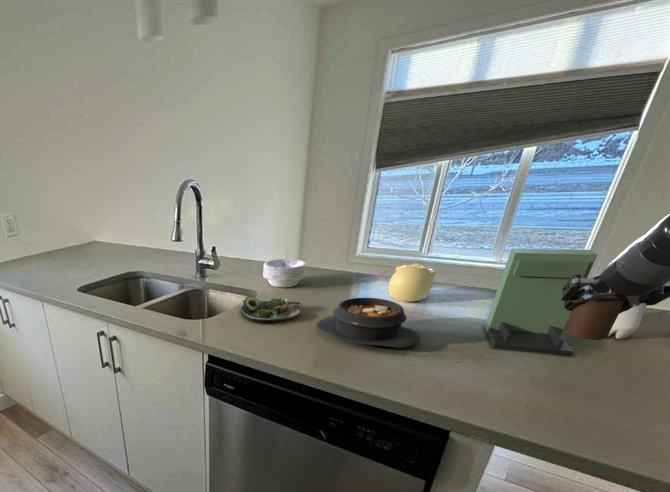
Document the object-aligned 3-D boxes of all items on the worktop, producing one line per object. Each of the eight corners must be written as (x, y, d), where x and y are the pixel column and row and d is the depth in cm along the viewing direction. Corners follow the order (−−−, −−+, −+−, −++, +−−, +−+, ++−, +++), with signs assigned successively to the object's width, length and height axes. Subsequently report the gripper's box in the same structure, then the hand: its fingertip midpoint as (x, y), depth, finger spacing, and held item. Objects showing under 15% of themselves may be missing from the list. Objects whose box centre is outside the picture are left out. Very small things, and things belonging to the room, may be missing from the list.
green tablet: (484, 326, 106) (511, 248, 96) (553, 332, 100) (590, 249, 90) (493, 348, 96) (524, 263, 86) (571, 356, 90) (615, 265, 80)
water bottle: (583, 328, 101) (634, 222, 88) (620, 329, 98) (678, 221, 86) (599, 339, 95) (656, 228, 82) (639, 341, 93) (704, 227, 80)
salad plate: (289, 300, 136) (290, 286, 133) (314, 318, 120) (316, 303, 118) (233, 307, 134) (233, 293, 132) (252, 326, 119) (252, 311, 116)
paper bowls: (300, 277, 157) (302, 256, 153) (308, 289, 144) (311, 266, 140) (260, 279, 158) (261, 259, 155) (265, 291, 145) (266, 269, 141)
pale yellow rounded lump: (433, 296, 127) (442, 262, 122) (420, 307, 121) (429, 271, 115) (394, 290, 135) (402, 258, 129) (380, 300, 128) (387, 266, 123)
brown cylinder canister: (577, 325, 84) (595, 285, 80) (615, 336, 79) (637, 293, 74) (554, 331, 83) (572, 290, 78) (592, 342, 77) (613, 300, 73)
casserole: (303, 337, 109) (306, 308, 105) (334, 316, 120) (338, 289, 116) (403, 362, 93) (411, 329, 89) (429, 336, 104) (437, 304, 100)
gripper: (717, 242, 62) (644, 292, 77) (591, 241, 69) (546, 288, 83) (716, 285, 61) (642, 328, 76) (588, 281, 67) (543, 321, 82)
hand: (592, 307), depth 79 cm, fingers closed on brown cylinder canister, 6 cm apart
